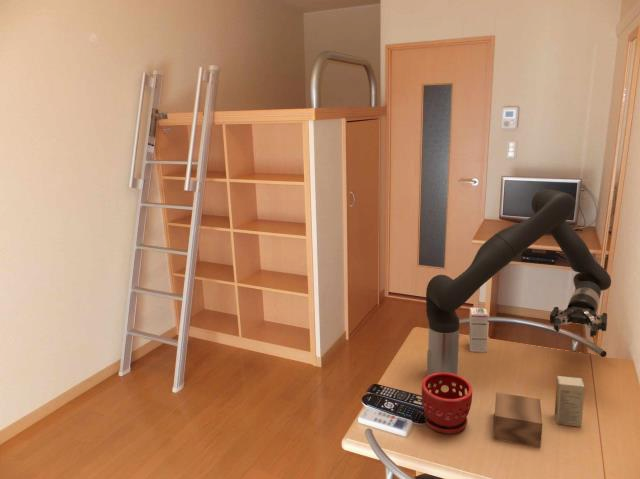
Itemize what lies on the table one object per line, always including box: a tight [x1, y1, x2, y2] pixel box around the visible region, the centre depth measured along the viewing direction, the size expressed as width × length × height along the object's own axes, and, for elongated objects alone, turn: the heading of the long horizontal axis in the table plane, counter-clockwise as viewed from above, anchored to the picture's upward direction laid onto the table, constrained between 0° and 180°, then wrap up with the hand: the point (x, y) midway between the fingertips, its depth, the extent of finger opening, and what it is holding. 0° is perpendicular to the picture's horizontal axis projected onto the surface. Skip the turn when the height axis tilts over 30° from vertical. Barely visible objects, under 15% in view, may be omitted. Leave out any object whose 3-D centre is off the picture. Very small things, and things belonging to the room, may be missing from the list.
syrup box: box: [468, 307, 489, 353], centre depth 169 cm, size 6×6×14 cm
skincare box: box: [554, 375, 586, 428], centre depth 129 cm, size 6×4×12 cm
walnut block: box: [493, 392, 544, 448], centre depth 127 cm, size 11×11×7 cm
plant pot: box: [421, 372, 473, 434], centre depth 130 cm, size 13×13×12 cm
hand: (574, 331), depth 133 cm, fingers open, 8 cm apart
